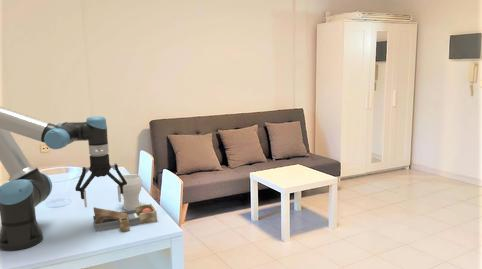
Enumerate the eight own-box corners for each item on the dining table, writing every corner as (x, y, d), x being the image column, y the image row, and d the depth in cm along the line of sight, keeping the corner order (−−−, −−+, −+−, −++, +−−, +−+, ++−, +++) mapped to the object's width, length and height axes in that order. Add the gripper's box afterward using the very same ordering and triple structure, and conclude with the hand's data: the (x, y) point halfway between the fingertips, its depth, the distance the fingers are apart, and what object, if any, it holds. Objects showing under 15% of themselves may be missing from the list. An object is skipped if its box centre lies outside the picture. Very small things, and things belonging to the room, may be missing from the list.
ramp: (96, 227, 164) (94, 213, 163) (94, 220, 171) (93, 207, 170) (129, 221, 169) (128, 208, 168) (126, 215, 177) (125, 202, 176)
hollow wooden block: (121, 232, 162) (120, 221, 162) (119, 229, 165) (119, 218, 165) (129, 230, 164) (128, 220, 163) (128, 227, 167) (127, 217, 166)
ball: (148, 207, 174) (155, 214, 175) (146, 204, 178) (152, 210, 179) (140, 215, 173) (147, 221, 175) (138, 211, 177) (145, 218, 179)
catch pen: (140, 224, 170) (140, 214, 169) (136, 215, 180) (135, 206, 179) (157, 221, 173) (156, 211, 172) (151, 213, 183) (151, 203, 182)
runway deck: (95, 232, 163) (95, 224, 162) (93, 222, 173) (93, 215, 172) (140, 224, 170) (140, 217, 170) (136, 215, 180) (135, 209, 179)
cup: (137, 212, 185) (135, 180, 182) (116, 210, 187) (113, 179, 184) (146, 204, 195) (145, 174, 192) (126, 202, 197) (124, 173, 194)
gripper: (66, 159, 156) (71, 211, 159) (131, 152, 166) (134, 201, 169) (65, 155, 162) (70, 205, 166) (128, 149, 172) (131, 196, 176)
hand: (103, 203), depth 168 cm, fingers open, 13 cm apart
